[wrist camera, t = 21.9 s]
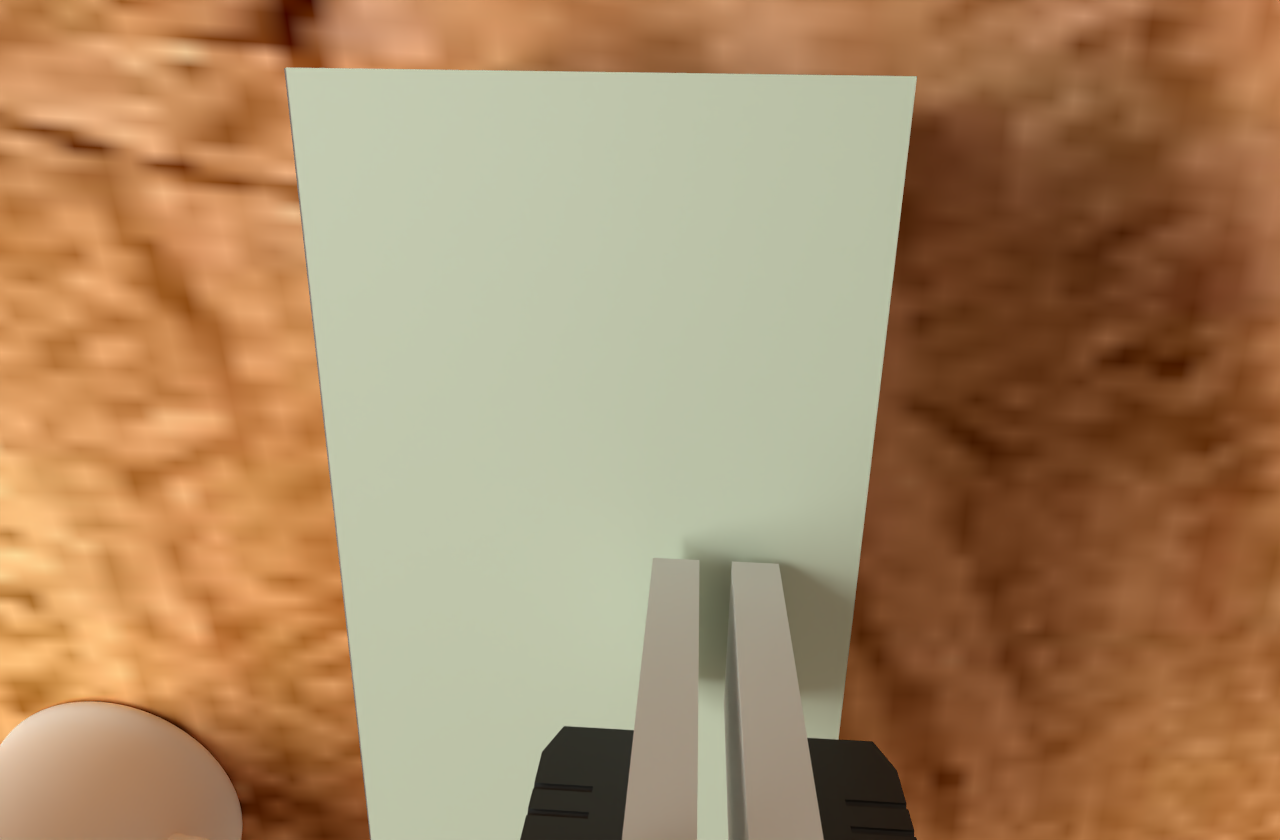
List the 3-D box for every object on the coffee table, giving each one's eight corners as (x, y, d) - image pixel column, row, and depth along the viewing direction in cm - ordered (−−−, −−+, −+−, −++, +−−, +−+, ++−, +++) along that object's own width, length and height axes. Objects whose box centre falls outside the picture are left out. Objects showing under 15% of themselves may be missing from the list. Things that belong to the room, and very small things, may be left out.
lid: (309, 69, 15) (204, 64, 13) (916, 78, 13) (917, 74, 10) (409, 1050, 24) (356, 1150, 22) (786, 1176, 21) (771, 1304, 19)
